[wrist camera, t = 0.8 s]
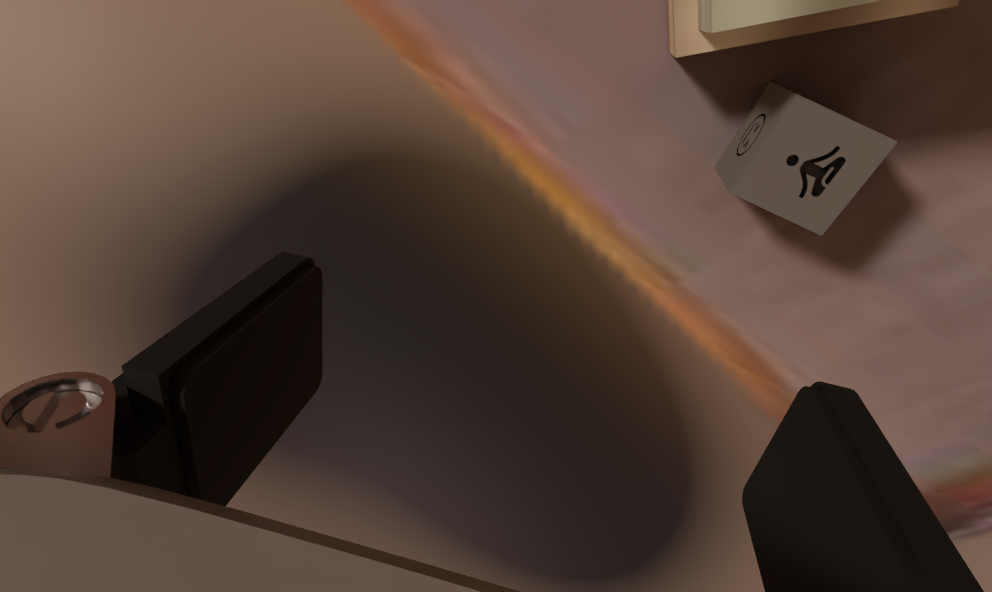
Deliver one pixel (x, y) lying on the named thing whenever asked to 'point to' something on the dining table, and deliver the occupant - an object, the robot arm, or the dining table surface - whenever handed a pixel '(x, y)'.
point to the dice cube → (800, 158)
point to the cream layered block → (773, 19)
